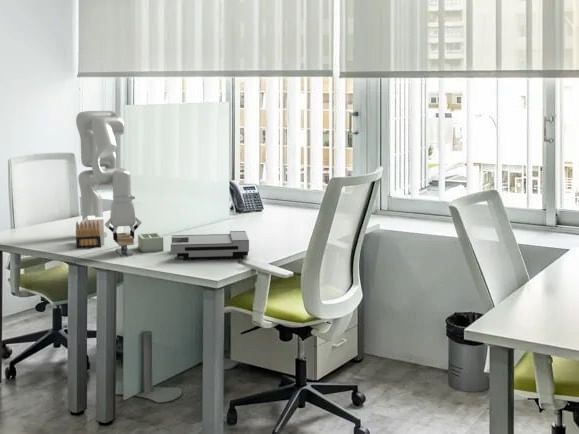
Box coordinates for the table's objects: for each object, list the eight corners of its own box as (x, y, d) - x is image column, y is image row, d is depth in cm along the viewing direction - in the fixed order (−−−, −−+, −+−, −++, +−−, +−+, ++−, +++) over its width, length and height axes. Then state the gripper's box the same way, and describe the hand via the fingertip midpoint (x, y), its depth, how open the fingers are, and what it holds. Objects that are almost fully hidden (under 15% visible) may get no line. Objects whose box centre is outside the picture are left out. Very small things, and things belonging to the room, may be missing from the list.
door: (114, 240, 327) (114, 233, 326) (128, 239, 329) (128, 232, 328) (119, 245, 315) (119, 238, 314) (133, 244, 317) (133, 237, 316)
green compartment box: (138, 247, 333) (137, 234, 332) (158, 245, 337) (157, 232, 336) (142, 252, 323) (142, 238, 322) (163, 250, 326) (163, 237, 325)
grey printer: (172, 251, 327) (171, 232, 326) (245, 249, 332) (245, 231, 330) (171, 262, 307) (170, 242, 306) (249, 260, 311) (249, 240, 310)
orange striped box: (104, 245, 337) (103, 219, 335) (78, 246, 334) (77, 220, 332) (103, 240, 347) (102, 215, 345) (78, 242, 344) (76, 216, 342)
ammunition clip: (76, 248, 331) (74, 221, 328) (76, 247, 332) (74, 221, 330) (101, 247, 333) (100, 220, 331) (101, 246, 335) (100, 220, 333)
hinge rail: (116, 249, 328) (115, 238, 327) (127, 249, 330) (127, 237, 329) (120, 256, 316) (120, 244, 315) (132, 255, 318) (132, 243, 317)
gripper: (141, 197, 325) (142, 238, 328) (100, 199, 319) (102, 240, 322) (144, 199, 318) (145, 241, 322) (102, 201, 312) (104, 244, 315)
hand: (123, 240), depth 322 cm, fingers closed on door, 6 cm apart
